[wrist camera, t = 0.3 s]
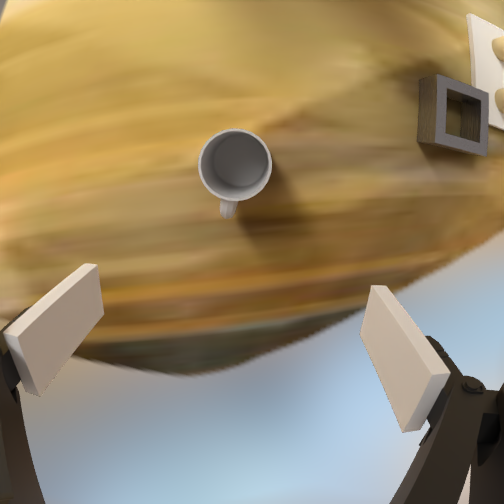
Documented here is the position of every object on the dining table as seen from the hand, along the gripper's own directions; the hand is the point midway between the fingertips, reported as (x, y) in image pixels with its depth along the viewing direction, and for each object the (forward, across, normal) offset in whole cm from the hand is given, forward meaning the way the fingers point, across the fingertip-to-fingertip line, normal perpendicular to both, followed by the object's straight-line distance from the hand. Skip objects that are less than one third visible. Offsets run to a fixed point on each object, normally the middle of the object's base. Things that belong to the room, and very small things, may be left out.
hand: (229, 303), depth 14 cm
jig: (+27, +37, +25) cm, 52 cm away
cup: (+28, -2, +4) cm, 28 cm away
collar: (+27, +26, +15) cm, 41 cm away
